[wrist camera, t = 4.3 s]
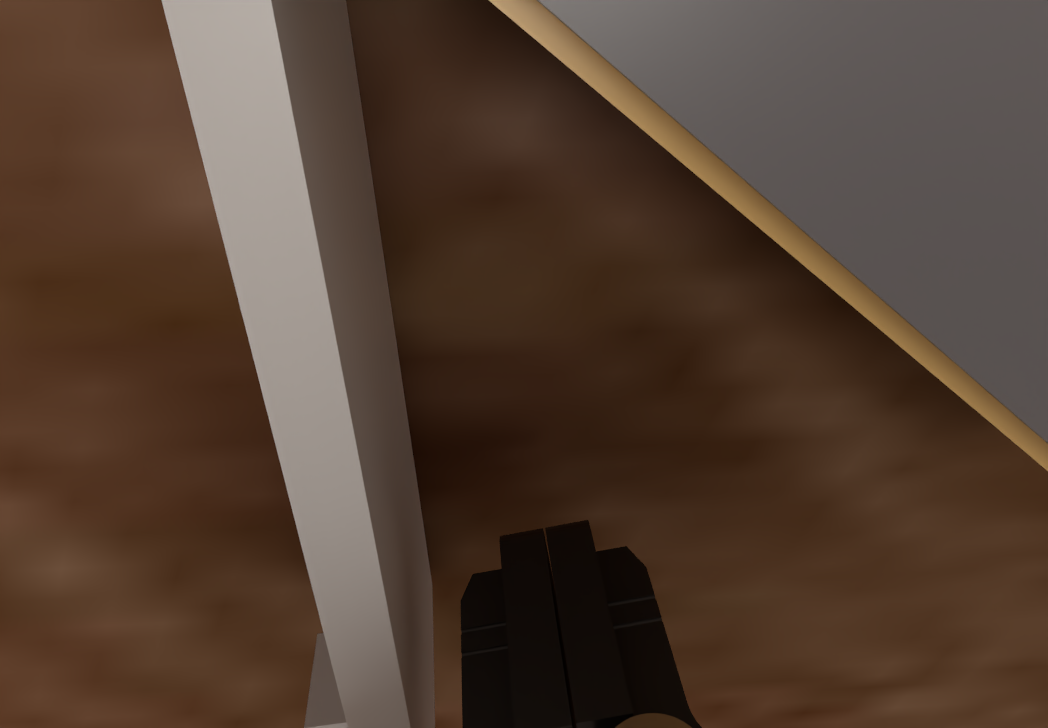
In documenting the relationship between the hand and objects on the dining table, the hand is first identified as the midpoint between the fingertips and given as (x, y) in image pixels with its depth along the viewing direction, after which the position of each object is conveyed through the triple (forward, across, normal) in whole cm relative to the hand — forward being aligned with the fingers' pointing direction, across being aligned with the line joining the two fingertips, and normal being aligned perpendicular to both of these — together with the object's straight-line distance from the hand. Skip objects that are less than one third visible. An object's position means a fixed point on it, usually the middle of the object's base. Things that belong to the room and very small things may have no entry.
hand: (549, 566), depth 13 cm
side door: (+3, +3, -4) cm, 6 cm away
